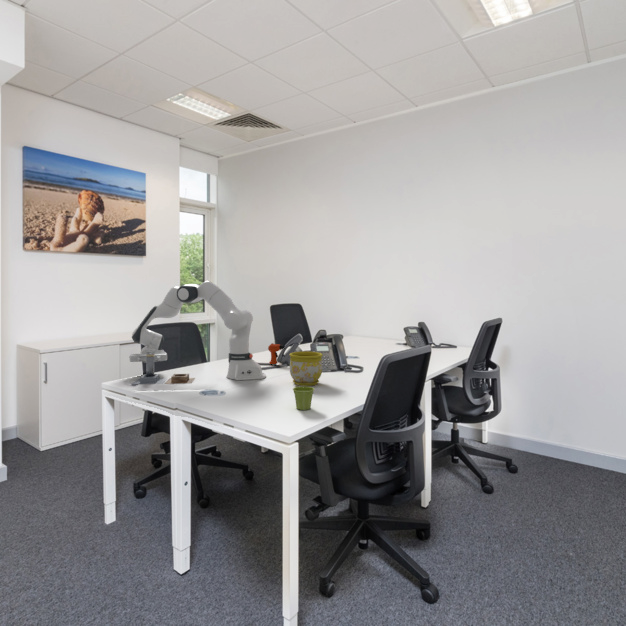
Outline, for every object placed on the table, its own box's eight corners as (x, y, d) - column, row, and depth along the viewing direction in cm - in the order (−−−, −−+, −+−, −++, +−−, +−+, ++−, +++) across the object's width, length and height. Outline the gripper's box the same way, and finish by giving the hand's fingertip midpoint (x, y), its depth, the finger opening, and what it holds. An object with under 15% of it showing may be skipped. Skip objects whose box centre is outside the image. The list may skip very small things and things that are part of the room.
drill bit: (154, 380, 236) (155, 353, 235) (153, 382, 232) (153, 354, 231) (147, 380, 235) (147, 352, 234) (145, 381, 231) (145, 354, 230)
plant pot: (290, 406, 191) (290, 386, 190) (311, 405, 193) (311, 385, 192) (294, 412, 182) (294, 391, 181) (316, 410, 184) (316, 390, 183)
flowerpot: (322, 380, 244) (322, 351, 243) (322, 387, 226) (322, 356, 225) (290, 379, 245) (290, 351, 244) (288, 387, 227) (288, 356, 226)
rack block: (167, 380, 240) (167, 373, 240) (162, 385, 229) (162, 377, 228) (137, 380, 238) (137, 373, 238) (131, 385, 227) (131, 378, 226)
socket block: (195, 379, 243) (195, 372, 243) (191, 385, 229) (191, 377, 229) (169, 379, 242) (169, 372, 241) (164, 385, 228) (164, 378, 227)
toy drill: (290, 365, 281) (287, 342, 281) (267, 366, 291) (265, 344, 291) (294, 364, 285) (292, 341, 285) (272, 365, 295) (270, 343, 295)
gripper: (129, 351, 251) (128, 354, 238) (166, 349, 258) (167, 353, 246) (129, 361, 251) (128, 366, 238) (166, 360, 259) (167, 364, 246)
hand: (148, 359), depth 242 cm, fingers open, 8 cm apart
